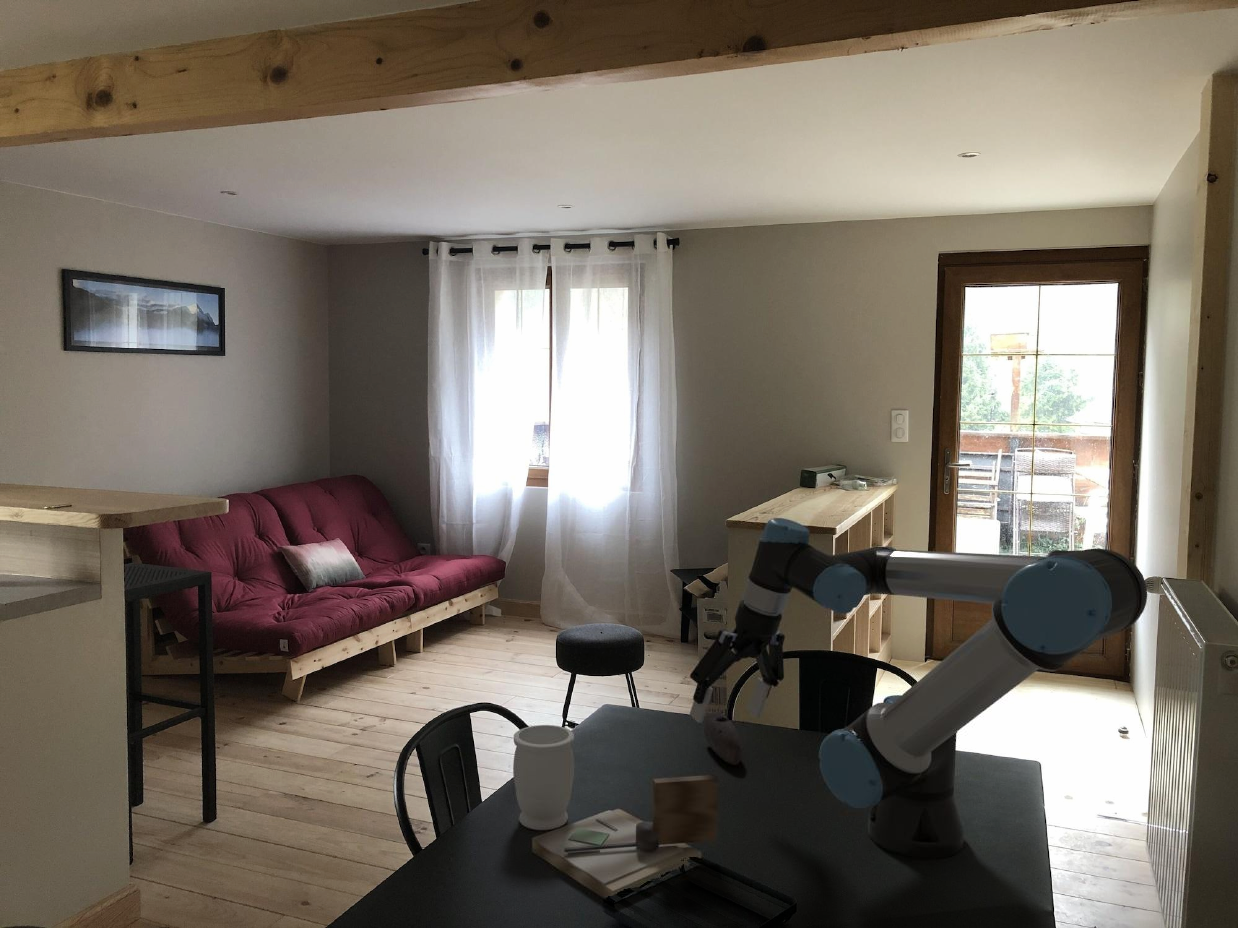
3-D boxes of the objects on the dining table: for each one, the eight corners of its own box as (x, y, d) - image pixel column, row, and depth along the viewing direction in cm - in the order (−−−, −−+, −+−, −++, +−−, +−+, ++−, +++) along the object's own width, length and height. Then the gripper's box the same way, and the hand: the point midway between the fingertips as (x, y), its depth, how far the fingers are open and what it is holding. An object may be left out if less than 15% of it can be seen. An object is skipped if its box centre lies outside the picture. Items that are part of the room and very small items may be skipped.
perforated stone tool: (749, 770, 186) (750, 735, 185) (723, 772, 185) (724, 737, 184) (726, 742, 200) (727, 710, 200) (702, 743, 199) (702, 711, 199)
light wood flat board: (701, 864, 149) (701, 848, 149) (612, 904, 137) (613, 887, 137) (618, 819, 164) (618, 805, 164) (532, 851, 152) (532, 836, 152)
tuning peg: (712, 834, 153) (713, 772, 152) (718, 845, 149) (719, 781, 149) (563, 846, 149) (563, 781, 148) (566, 857, 145) (566, 791, 144)
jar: (577, 832, 159) (577, 744, 158) (515, 836, 157) (515, 747, 156) (570, 804, 170) (570, 722, 168) (511, 808, 168) (511, 725, 167)
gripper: (797, 597, 173) (761, 701, 178) (693, 595, 158) (657, 708, 163) (826, 616, 167) (788, 723, 172) (721, 616, 153) (683, 732, 157)
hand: (724, 716), depth 167 cm, fingers open, 13 cm apart
